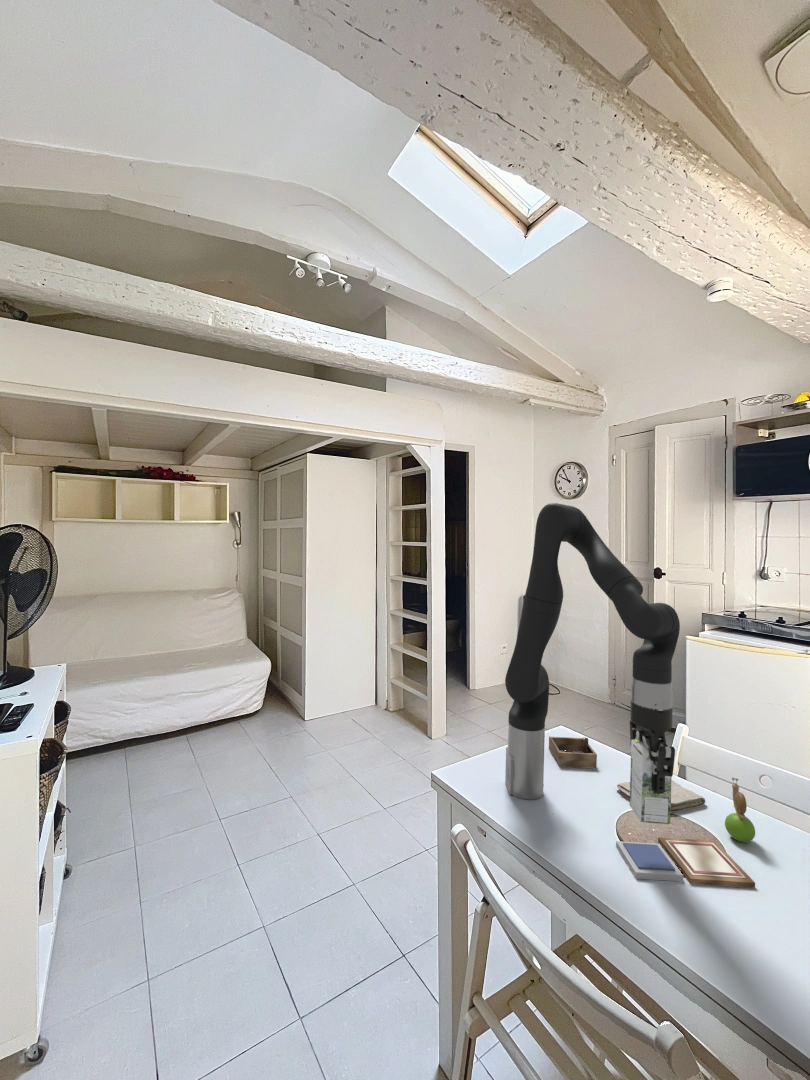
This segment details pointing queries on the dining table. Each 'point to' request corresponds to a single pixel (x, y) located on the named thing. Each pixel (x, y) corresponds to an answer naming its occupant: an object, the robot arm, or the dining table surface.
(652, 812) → the syrup box
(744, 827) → the snail figurine
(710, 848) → the board
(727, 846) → the dining table surface
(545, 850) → the dining table surface
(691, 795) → the washcloth
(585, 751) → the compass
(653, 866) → the ink pad
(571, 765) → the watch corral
